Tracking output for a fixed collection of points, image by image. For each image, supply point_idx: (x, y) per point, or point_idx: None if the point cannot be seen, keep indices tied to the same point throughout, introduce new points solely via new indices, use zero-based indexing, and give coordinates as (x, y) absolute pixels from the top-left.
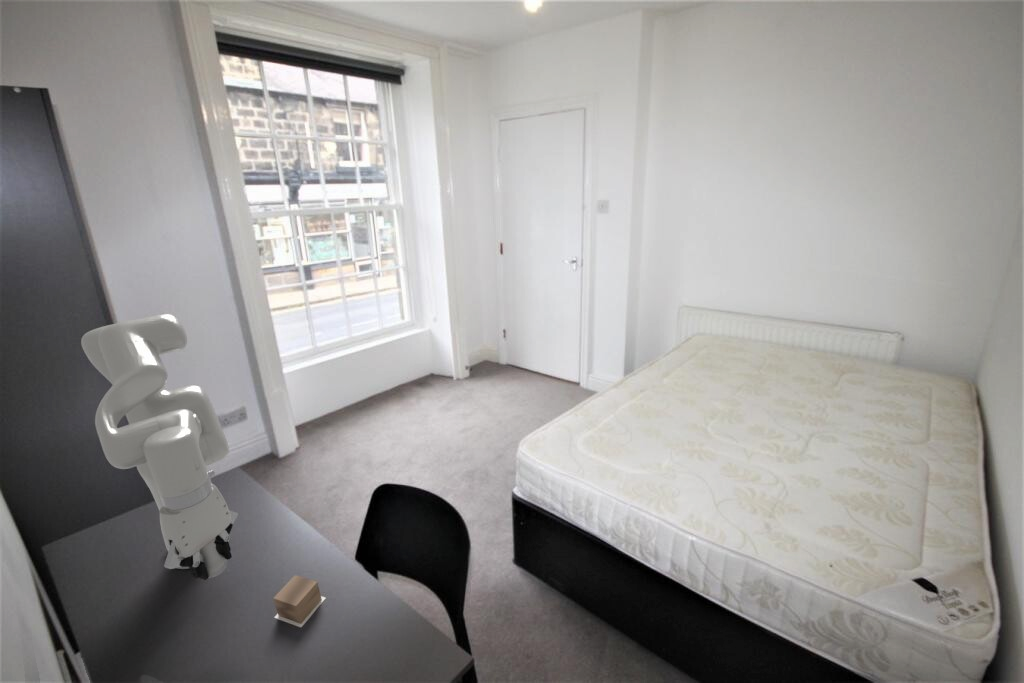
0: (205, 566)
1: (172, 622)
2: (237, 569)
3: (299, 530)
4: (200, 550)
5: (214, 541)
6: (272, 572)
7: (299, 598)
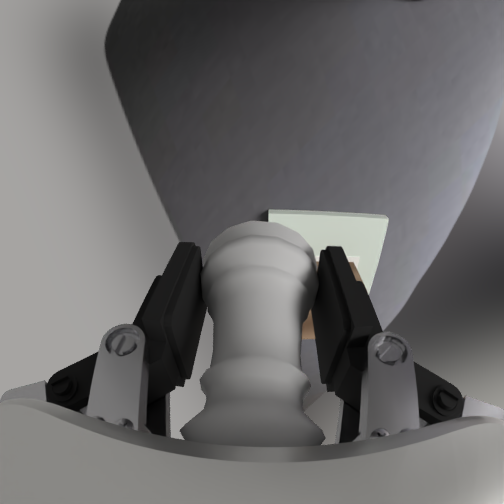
0: (212, 317)
1: (217, 33)
2: (383, 61)
3: (485, 141)
4: (207, 400)
5: (351, 329)
6: (395, 153)
7: (312, 334)
